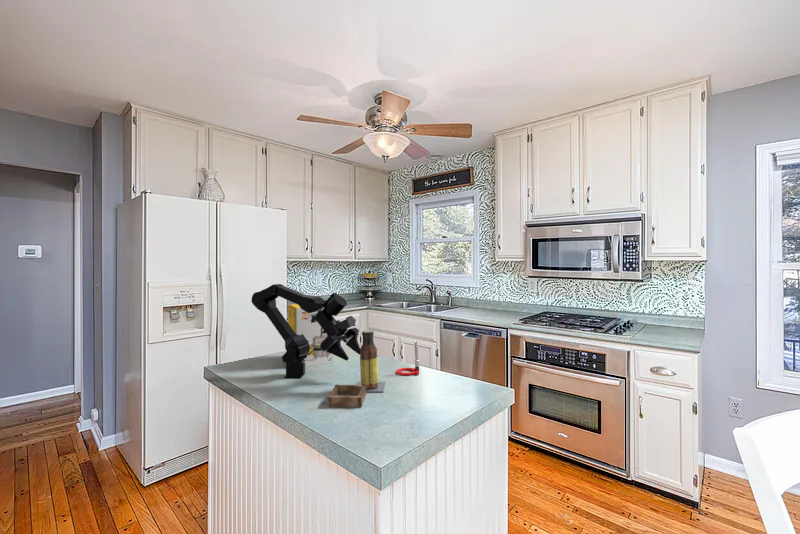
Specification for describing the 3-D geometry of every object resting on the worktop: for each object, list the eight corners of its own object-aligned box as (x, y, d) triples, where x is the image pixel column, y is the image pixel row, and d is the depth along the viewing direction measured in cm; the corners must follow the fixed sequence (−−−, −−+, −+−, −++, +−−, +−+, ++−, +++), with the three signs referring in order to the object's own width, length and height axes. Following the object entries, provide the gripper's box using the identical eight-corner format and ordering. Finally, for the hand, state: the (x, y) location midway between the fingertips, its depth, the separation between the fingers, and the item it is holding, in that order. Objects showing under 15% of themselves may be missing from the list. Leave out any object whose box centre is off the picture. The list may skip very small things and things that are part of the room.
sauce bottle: (378, 383, 134) (378, 329, 134) (378, 389, 128) (378, 332, 128) (359, 384, 134) (359, 329, 133) (359, 390, 128) (359, 332, 127)
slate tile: (354, 392, 127) (354, 390, 127) (358, 382, 137) (358, 381, 137) (383, 392, 127) (383, 391, 127) (385, 383, 137) (385, 381, 137)
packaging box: (296, 367, 156) (296, 308, 155) (288, 358, 170) (287, 304, 170) (333, 362, 164) (333, 306, 163) (322, 354, 178) (322, 302, 177)
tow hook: (395, 377, 145) (419, 376, 145) (394, 344, 145) (417, 343, 145) (396, 370, 154) (419, 370, 153) (395, 339, 154) (417, 338, 153)
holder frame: (327, 406, 114) (327, 397, 114) (335, 393, 126) (335, 384, 126) (361, 407, 114) (361, 397, 114) (366, 393, 125) (366, 385, 125)
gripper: (327, 313, 127) (355, 348, 123) (354, 306, 144) (380, 337, 140) (308, 333, 131) (334, 368, 126) (337, 325, 148) (361, 355, 144)
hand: (354, 356), depth 134 cm, fingers open, 9 cm apart
